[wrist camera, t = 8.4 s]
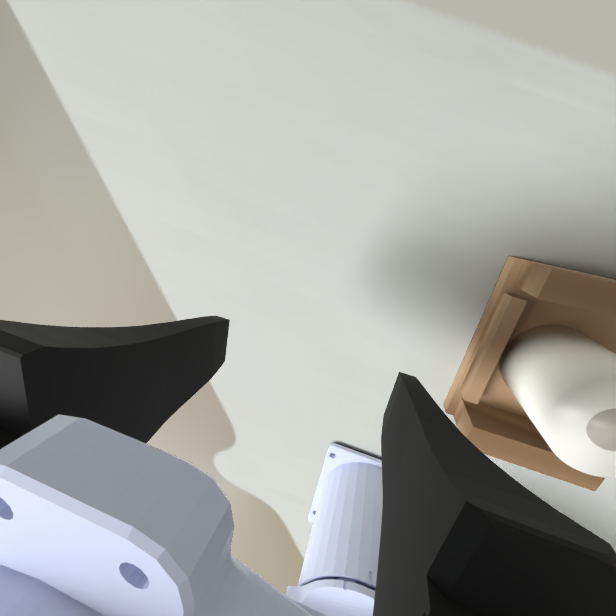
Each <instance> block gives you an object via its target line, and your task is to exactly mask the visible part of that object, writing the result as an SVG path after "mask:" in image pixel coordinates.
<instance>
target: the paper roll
mask: <svg viewBox="0 0 616 616" xmlns="http://www.w3.org/2000/svg"><path fill="white" fill-rule="evenodd" d="M499 370H500V374H501V377H502V378H503V380H504V382H505V383H506V385H507V386H508V388H509V389H510V391H511V392H512V393H513V395H514V396H515V398H516V399H517V401H518V402H519V404H520V405H521V406H522V408H523V409H524V411H525V412H526V414H527V415H528V417H529V418H530V419H531V421H532V422H533V424H534V425H535V427H536V428H537V430H538V431H539V432H540V434H541V435H542V437H543V438H544V440H545V441H546V443H547V444H548V445H549V447H550V448H551V450H552V451H553V452H554V454H555V455H556V456H557V457H558V458H559V459H560V460H562V461H563V462H564V463H565V464H567V465H569V466H570V467H572V468H574V469H576V470H578V471H580V472H583V473H586V474H589V475H593V476H597V477H603V478H614V479H616V354H615V353H614V352H612V351H610V350H609V349H607V348H605V347H604V346H602V345H600V344H599V343H597V342H595V341H594V340H592V339H590V338H589V337H587V336H585V335H584V334H582V333H580V332H578V331H577V330H574V329H572V328H569V327H565V326H559V325H544V326H538V327H534V328H531V329H528V330H525V331H523V332H522V333H520V334H518V335H517V336H515V337H514V338H513V339H512V340H510V341H509V343H508V344H507V345H506V346H505V349H504V351H503V353H502V355H501V357H500V360H499Z"/></svg>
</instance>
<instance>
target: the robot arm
mask: <svg viewBox="0 0 616 616" xmlns="http://www.w3.org/2000/svg"><path fill="white" fill-rule="evenodd" d="M228 329H229V320H228V319H225V318H222V317H218V316H207V317H199V318H193V319H186V320H180V321H174V322H167V323H159V324H151V325H143V326H131V327H112V328H111V327H108V328H106V327H105V328H102V327H100V328H99V327H96V328H95V327H94V328H93V327H92V328H91V327H89V328H88V327H87V328H86V327H62V326H49V325H48V326H47V325H38V324H29V323H21V322H13V321H4V320H0V616H616V553H615V551H614V550H613V548H612V547H611V545H610V544H609V543H607V542H606V541H604V540H603V539H601V538H600V537H598V536H596V535H595V534H593V533H592V532H590V531H589V530H587V529H585V528H584V527H582V526H581V525H579V524H578V523H576V522H574V521H573V520H571V519H570V518H568V517H567V516H565V515H563V514H562V513H560V512H559V511H557V510H556V509H554V508H553V507H551V506H550V505H549V504H547V503H546V502H544V501H543V500H542V499H540V498H539V497H537V496H536V495H535V494H533V493H532V492H530V491H529V490H528V489H526V488H525V487H524V486H522V485H521V484H520V483H518V482H517V481H516V480H514V479H513V478H512V477H511V476H509V475H508V474H507V473H506V472H504V471H503V470H502V469H501V468H500V467H498V466H497V465H496V464H495V463H493V462H492V461H491V460H490V459H489V458H488V457H487V456H485V455H484V454H483V453H482V452H481V451H480V450H479V449H478V448H477V447H476V446H475V445H474V444H473V443H472V442H470V441H469V440H468V439H467V438H466V437H465V436H464V435H463V434H462V433H461V432H460V430H459V429H458V428H457V427H456V426H455V425H454V424H453V423H452V422H451V420H450V419H449V418H448V417H447V416H446V415H445V414H444V412H443V411H442V410H441V409H440V408H439V406H438V405H437V404H436V402H435V401H434V400H433V399H432V397H431V396H430V395H429V393H428V392H427V391H426V389H425V388H424V387H423V386H422V384H421V383H420V382H419V380H418V379H417V378H416V377H414V376H410V375H407V374H404V373H401V372H399V374H398V377H397V380H396V383H395V385H394V388H393V391H392V394H391V396H390V399H389V402H388V405H387V408H386V410H385V413H384V418H383V426H382V436H381V450H382V460H380V459H377V458H374V457H371V456H369V455H366V454H363V453H360V452H358V451H355V450H352V449H349V448H347V447H344V446H341V445H339V444H336V443H331V444H330V445H329V447H328V451H327V454H326V458H325V461H324V464H323V468H322V471H321V475H320V478H319V482H318V485H317V488H316V492H315V495H314V499H313V502H312V506H311V509H310V512H309V516H308V520H309V522H310V523H312V524H313V526H312V530H311V534H310V538H309V543H308V547H307V551H306V555H305V559H304V563H303V567H302V571H301V575H300V579H299V583H298V586H288V588H287V592H286V595H285V594H284V593H282V592H281V591H280V590H279V589H277V588H276V587H275V586H273V585H272V584H270V583H269V582H268V581H267V580H265V579H264V578H262V577H261V576H260V575H259V574H257V573H256V572H255V571H253V570H252V569H251V568H249V567H248V566H247V565H245V564H244V563H243V562H241V561H240V560H239V559H238V558H236V557H235V556H233V555H232V554H231V552H230V551H231V549H230V548H231V542H232V535H233V530H234V523H233V517H232V511H231V505H230V501H229V499H228V497H227V496H226V494H225V493H224V491H223V490H222V489H221V487H220V486H219V485H218V483H217V482H216V481H215V479H214V478H213V477H212V476H211V475H209V474H208V473H206V472H205V471H203V470H202V469H200V468H199V467H197V466H195V465H194V464H192V463H191V462H189V461H187V460H184V459H182V458H179V457H177V456H175V455H172V454H170V453H167V452H165V451H163V450H160V449H158V448H155V447H153V446H151V445H148V444H146V443H147V442H148V441H149V440H150V439H151V437H152V436H153V435H154V434H155V433H156V432H157V431H158V429H159V428H160V427H161V426H162V425H163V423H165V422H166V420H168V418H170V417H171V415H173V414H174V413H175V412H176V411H177V410H178V409H179V408H180V407H181V406H182V405H183V404H184V403H185V402H187V400H189V399H190V398H191V397H192V396H193V395H194V394H195V393H196V392H197V391H198V390H199V389H201V388H202V387H203V386H204V385H205V384H206V383H207V382H208V381H209V380H210V379H211V378H212V377H213V376H214V374H215V373H216V372H217V371H218V369H219V368H220V367H221V366H222V364H223V363H224V362H225V354H226V346H227V337H228ZM331 453H334V454H335V455H333V454H331Z"/></svg>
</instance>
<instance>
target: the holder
mask: <svg viewBox="0 0 616 616" xmlns="http://www.w3.org/2000/svg"><path fill="white" fill-rule="evenodd" d="M544 325H559V326H565V327H569V328H572V329H574V330H577V331H578V332H580V333H582V334H584V335H585V336H587V337H589V338H590V339H592V340H594V341H595V342H597V343H599V344H600V345H602V346H604V347H605V348H607V349H609V350H610V351H612V352H614V353H615V354H616V280H615V279H611V278H606V277H602V276H597V275H593V274H588V273H584V272H579V271H575V270H570V269H566V268H561V267H557V266H552V265H548V264H543V263H539V262H534V261H530V260H525V259H521V258H516V257H512V256H508V258H507V261H506V263H505V265H504V268H503V270H502V272H501V274H500V277H499V279H498V281H497V283H496V286H495V288H494V290H493V293H492V295H491V297H490V299H489V302H488V304H487V306H486V309H485V311H484V313H483V315H482V318H481V320H480V322H479V324H478V327H477V329H476V331H475V334H474V336H473V338H472V340H471V343H470V345H469V347H468V350H467V352H466V354H465V356H464V359H463V361H462V363H461V365H460V368H459V370H458V372H457V375H456V377H455V379H454V381H453V384H452V386H451V388H450V391H449V393H448V395H447V397H446V400H445V402H444V404H443V405H444V408H445V411H446V413H448V414H451V415H453V416H454V419H455V422H456V425H457V428H458V429H459V430H460V432H461V433H462V434H463V435H464V436H465V437H466V438H467V439H468V440H469V441H470V442H472V443H473V444H474V445H475V446H476V447H477V448H478V449H479V450H480V451H481V452H482V453H484V454H487V455H490V456H493V457H496V458H498V459H501V460H504V461H507V462H510V463H513V464H516V465H519V466H522V467H525V468H528V469H531V470H534V471H537V472H540V473H543V474H546V475H549V476H552V477H554V478H557V479H560V480H563V481H566V482H569V483H572V484H575V485H578V486H581V487H584V488H587V489H590V490H593V491H596V490H597V488H598V487H599V486H600V484H601V483H602V482H603V480H604V479H605V478H603V477H597V476H593V475H589V474H586V473H583V472H580V471H578V470H576V469H574V468H572V467H570V466H569V465H567V464H565V463H564V462H563V461H562V460H560V459H559V458H558V457H557V456H556V455H555V454H554V452H553V451H552V450H551V448H550V447H549V445H548V444H547V443H546V441H545V440H544V438H543V437H542V435H541V434H540V432H539V431H538V430H537V428H536V427H535V425H534V424H533V422H532V421H531V419H530V418H529V417H528V415H527V414H526V412H525V411H524V409H523V408H522V406H521V405H520V404H519V402H518V401H517V399H516V398H515V396H514V395H513V393H512V392H511V391H510V389H509V388H508V386H507V385H506V383H505V382H504V380H503V378H502V377H501V374H500V370H499V360H500V357H501V355H502V353H503V351H504V349H505V346H506V345H507V344H508V343H509V341H510V340H512V339H513V338H514V337H515V336H517V335H518V334H520V333H522V332H523V331H525V330H528V329H531V328H534V327H538V326H544Z"/></svg>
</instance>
